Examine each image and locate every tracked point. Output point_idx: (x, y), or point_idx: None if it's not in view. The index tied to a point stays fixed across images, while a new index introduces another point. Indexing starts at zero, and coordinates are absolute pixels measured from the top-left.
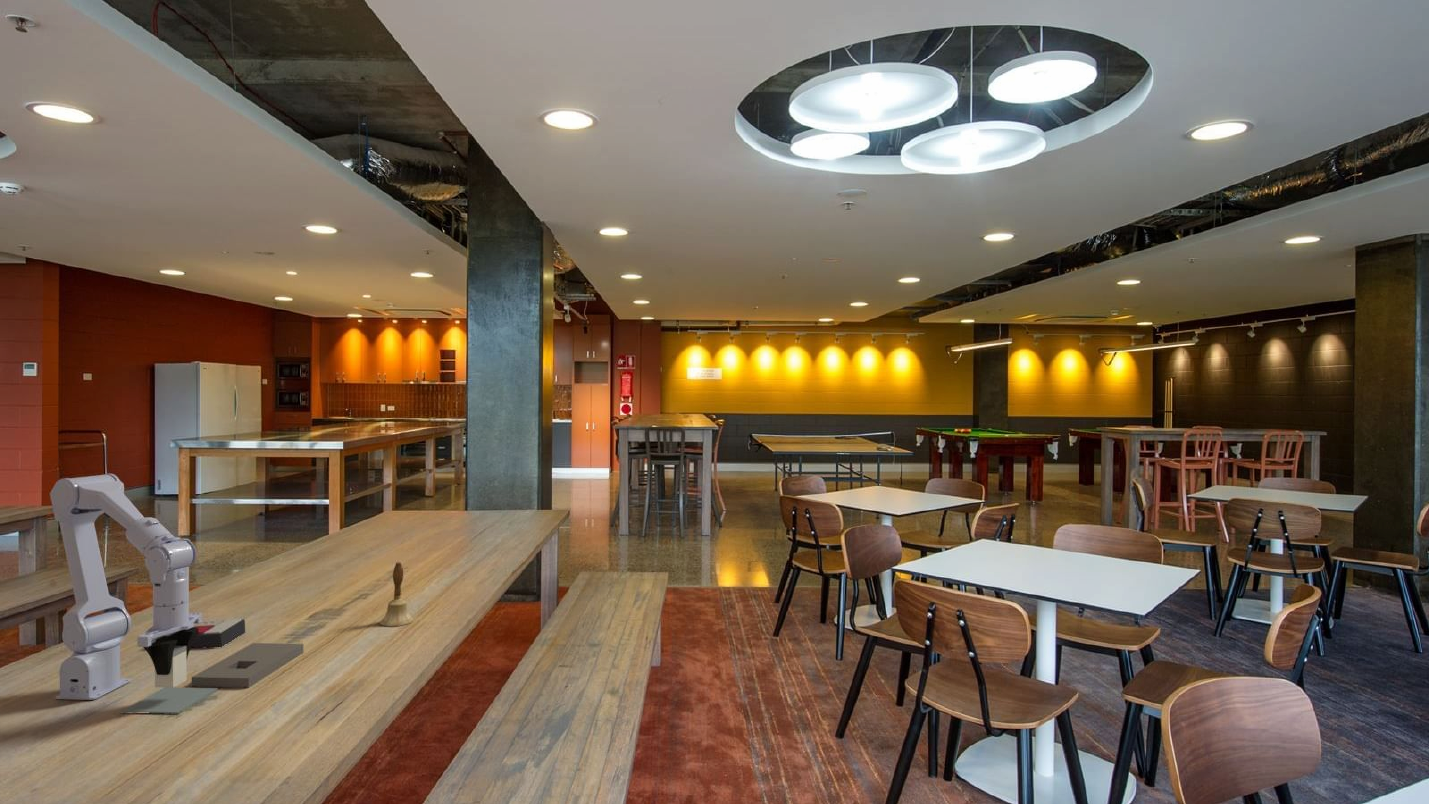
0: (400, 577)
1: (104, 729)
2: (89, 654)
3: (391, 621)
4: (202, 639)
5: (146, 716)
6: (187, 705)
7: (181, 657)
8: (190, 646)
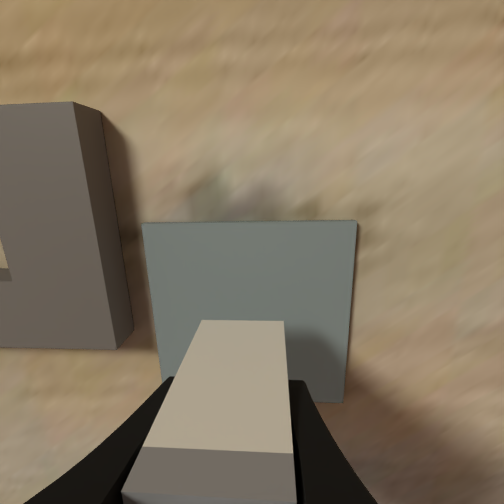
0: None
1: (456, 369)
2: None
3: None
4: None
5: (365, 314)
6: (296, 229)
7: (205, 418)
8: (84, 462)
